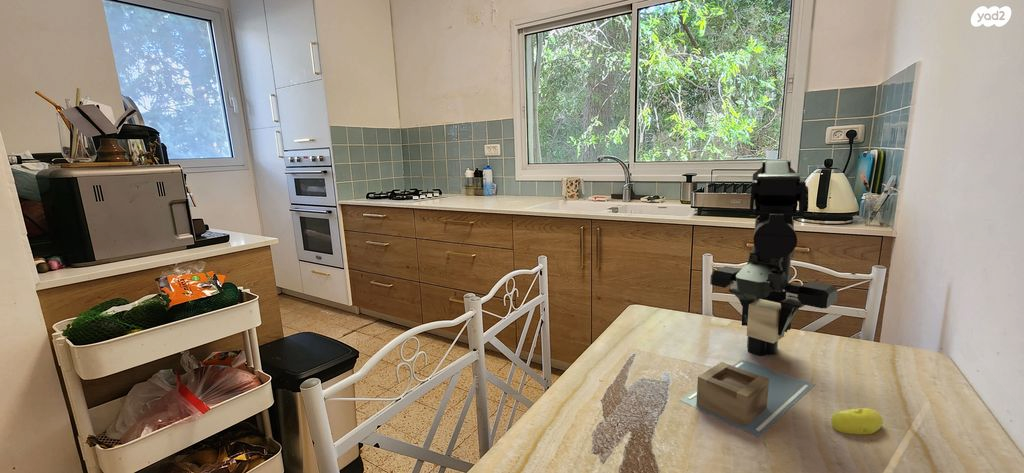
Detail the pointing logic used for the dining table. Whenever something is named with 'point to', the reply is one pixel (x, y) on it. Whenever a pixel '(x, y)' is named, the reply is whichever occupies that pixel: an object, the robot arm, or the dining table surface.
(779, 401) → the board
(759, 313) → the oak block
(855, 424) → the yellow oval piece
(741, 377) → the base block
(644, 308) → the dining table surface
